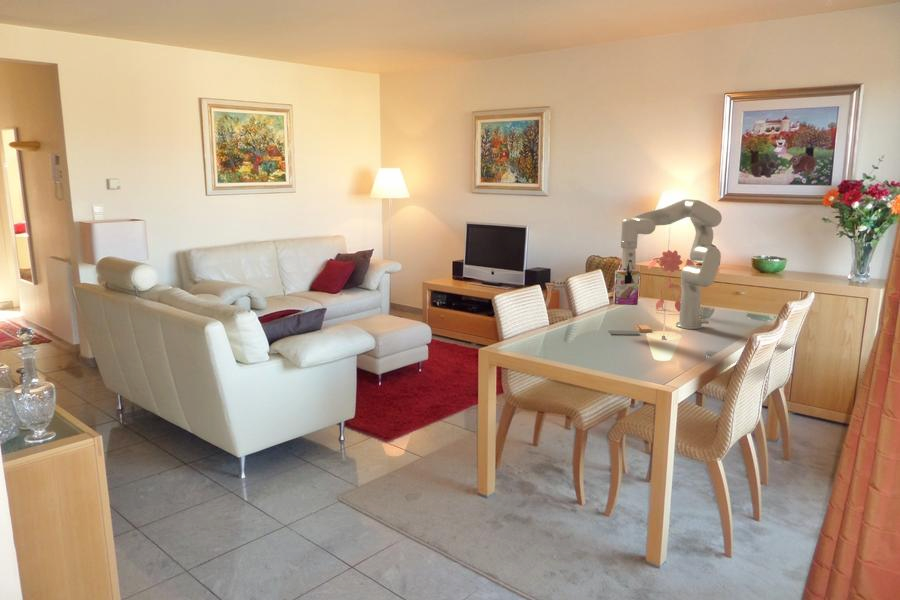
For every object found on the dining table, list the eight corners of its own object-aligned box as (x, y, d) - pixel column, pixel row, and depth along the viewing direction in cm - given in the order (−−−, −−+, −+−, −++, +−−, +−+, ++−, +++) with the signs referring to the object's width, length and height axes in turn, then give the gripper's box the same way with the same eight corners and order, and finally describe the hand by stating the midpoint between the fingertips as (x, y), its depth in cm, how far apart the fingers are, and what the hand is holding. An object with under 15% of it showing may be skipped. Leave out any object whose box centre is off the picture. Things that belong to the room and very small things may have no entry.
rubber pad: (636, 331, 327) (637, 330, 327) (640, 335, 320) (640, 334, 320) (608, 331, 328) (608, 330, 328) (610, 335, 321) (611, 333, 321)
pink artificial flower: (648, 306, 386) (651, 247, 378) (693, 311, 372) (698, 250, 364) (639, 311, 373) (643, 250, 365) (686, 317, 359) (691, 254, 351)
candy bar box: (614, 305, 319) (616, 271, 316) (613, 302, 324) (614, 269, 321) (638, 305, 318) (640, 271, 315) (636, 303, 323) (638, 270, 320)
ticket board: (647, 328, 334) (647, 324, 334) (651, 332, 327) (651, 328, 326) (635, 328, 335) (635, 324, 334) (639, 331, 327) (639, 328, 327)
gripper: (640, 247, 307) (638, 285, 310) (633, 243, 323) (630, 279, 327) (624, 247, 307) (622, 285, 311) (617, 242, 324) (615, 279, 327)
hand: (626, 282), depth 319 cm, fingers closed on candy bar box, 5 cm apart
